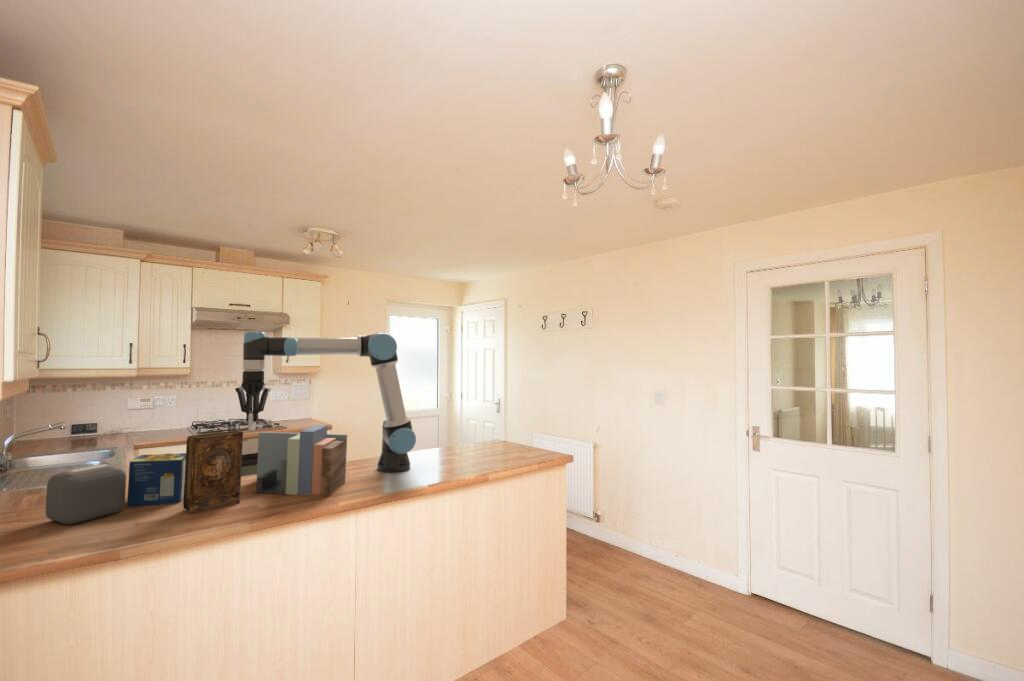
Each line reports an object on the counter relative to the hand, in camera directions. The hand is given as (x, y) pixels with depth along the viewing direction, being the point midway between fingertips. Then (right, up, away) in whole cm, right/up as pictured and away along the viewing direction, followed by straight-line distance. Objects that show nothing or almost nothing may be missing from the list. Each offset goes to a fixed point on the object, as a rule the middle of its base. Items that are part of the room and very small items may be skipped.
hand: (251, 429), depth 185 cm
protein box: (-23, -22, -19) cm, 37 cm away
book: (0, -22, -23) cm, 32 cm away
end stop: (+32, -24, +1) cm, 40 cm away
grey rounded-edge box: (-32, -21, -36) cm, 53 cm away
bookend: (+11, -23, 0) cm, 25 cm away
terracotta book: (+28, -24, 0) cm, 37 cm away
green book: (+19, -23, 0) cm, 30 cm away
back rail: (+15, -23, +9) cm, 30 cm away
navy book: (+24, -24, 0) cm, 33 cm away
